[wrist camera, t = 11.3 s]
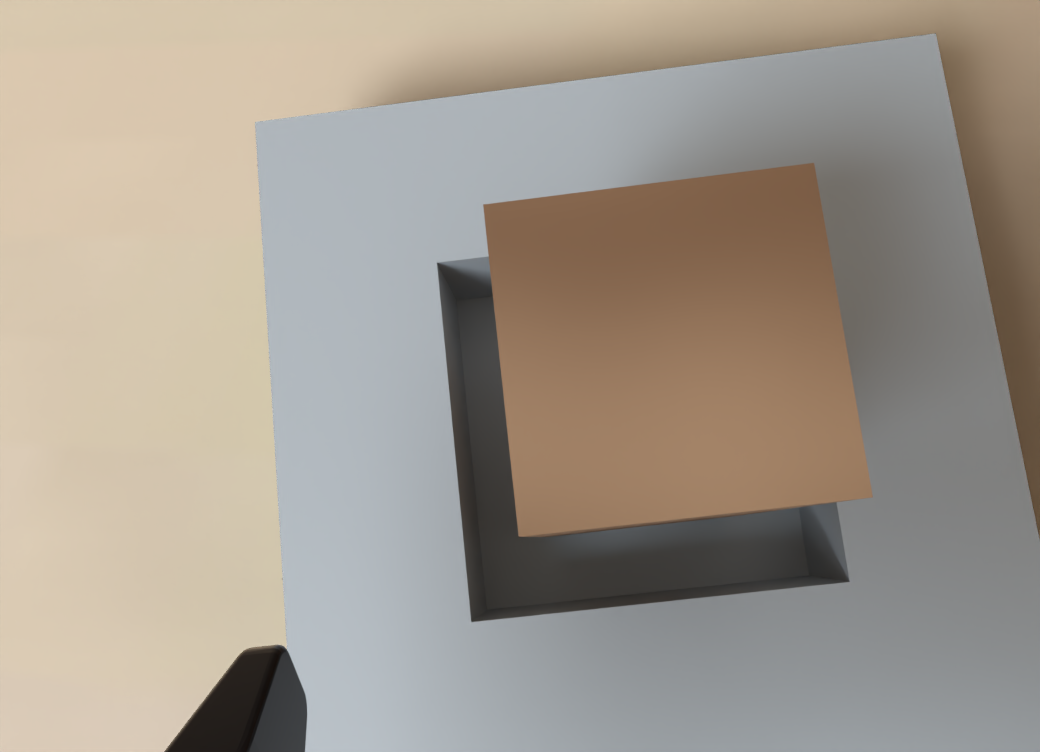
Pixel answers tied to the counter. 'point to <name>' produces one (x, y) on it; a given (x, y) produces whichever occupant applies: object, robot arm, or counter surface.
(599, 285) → the walnut post
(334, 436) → the well block
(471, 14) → the counter surface
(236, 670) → the robot arm
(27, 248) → the counter surface
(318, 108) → the counter surface
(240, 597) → the counter surface
